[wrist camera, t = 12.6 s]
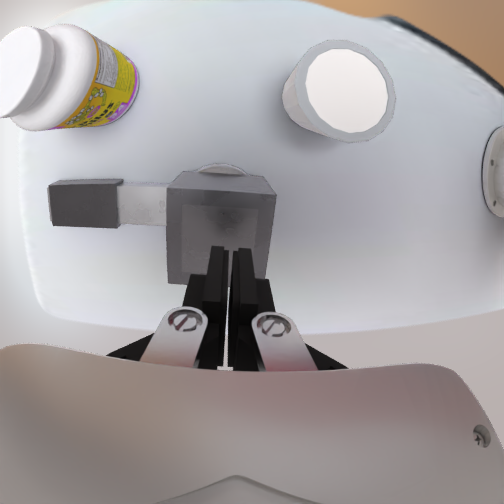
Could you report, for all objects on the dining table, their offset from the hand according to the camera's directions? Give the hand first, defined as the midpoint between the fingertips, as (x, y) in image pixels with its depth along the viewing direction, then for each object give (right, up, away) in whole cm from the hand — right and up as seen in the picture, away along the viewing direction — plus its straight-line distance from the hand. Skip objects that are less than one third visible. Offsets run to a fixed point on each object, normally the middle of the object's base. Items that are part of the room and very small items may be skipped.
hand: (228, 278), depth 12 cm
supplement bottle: (-11, +15, +6) cm, 20 cm away
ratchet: (-8, +6, +10) cm, 14 cm away
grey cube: (-1, +4, +9) cm, 10 cm away
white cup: (+6, +14, +8) cm, 17 cm away
